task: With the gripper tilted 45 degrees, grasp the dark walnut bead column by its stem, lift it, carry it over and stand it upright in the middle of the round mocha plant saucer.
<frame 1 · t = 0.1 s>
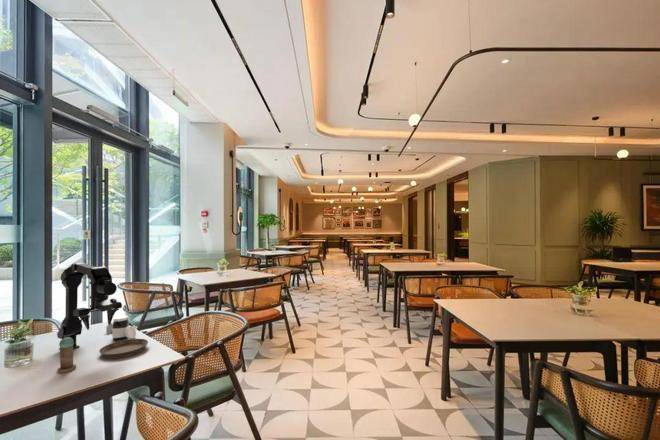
hand: (98, 326, 159), 15 cm above the table, tool pointing down, fingers open, 9 cm apart
spread jar: (124, 338, 187), on the table
plant saucer: (124, 352, 167), on the table
lighter: (113, 332, 200), on the table
bead column: (66, 370, 146), on the table
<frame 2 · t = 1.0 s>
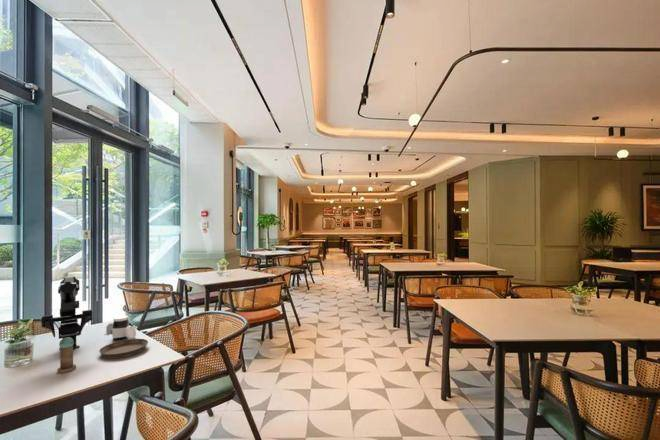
hand: (67, 334, 153), 13 cm above the table, tool tilted 45°, fingers open, 9 cm apart
nothing on the table moved.
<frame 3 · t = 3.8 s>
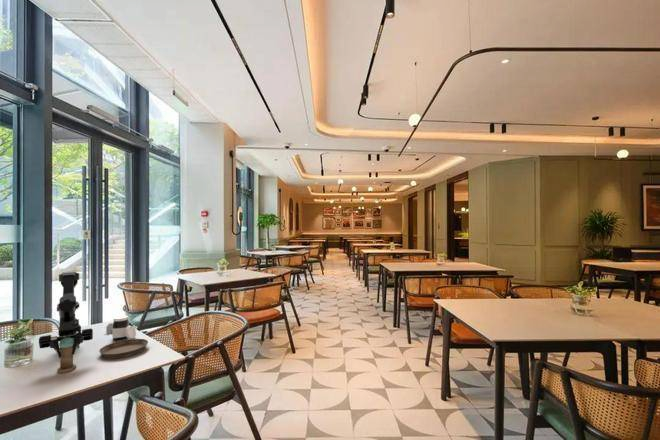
hand: (66, 355, 145), 7 cm above the table, tool tilted 45°, fingers closed on bead column, 4 cm apart
bead column: (66, 369, 146), on the table, touching gripper
everything else where it was.
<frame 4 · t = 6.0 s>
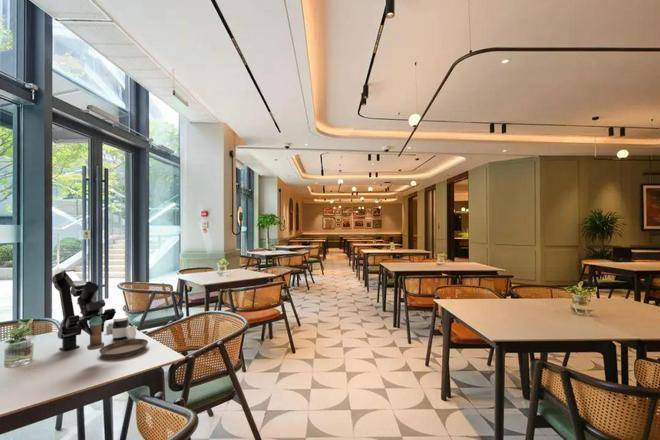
hand: (97, 333, 153), 13 cm above the table, tool tilted 45°, fingers closed on bead column, 4 cm apart
bead column: (95, 347, 154), point 7 cm above the table, touching gripper
everything else where it was.
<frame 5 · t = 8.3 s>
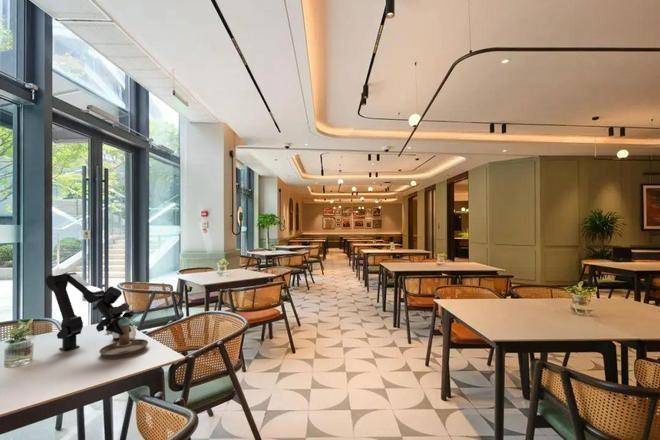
hand: (126, 333, 167), 9 cm above the table, tool tilted 45°, fingers closed on bead column, 4 cm apart
plant saucer: (124, 353, 167), on the table, touching bead column
bead column: (124, 345, 167), point 3 cm above the table, touching gripper, plant saucer
everything else where it was.
when the fingers open (9 cm above the table, at t = 8.4 s): bead column stays where it is, resting on plant saucer.
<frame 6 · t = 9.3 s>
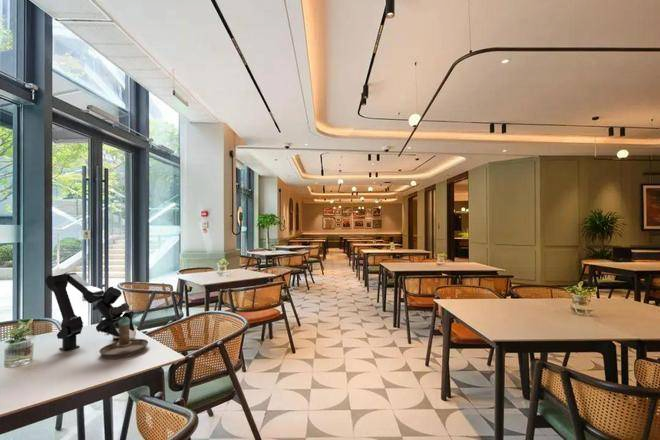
hand: (126, 333, 167), 9 cm above the table, tool tilted 45°, fingers open, 9 cm apart
bead column: (124, 345, 167), point 3 cm above the table, touching plant saucer
everything else where it was.
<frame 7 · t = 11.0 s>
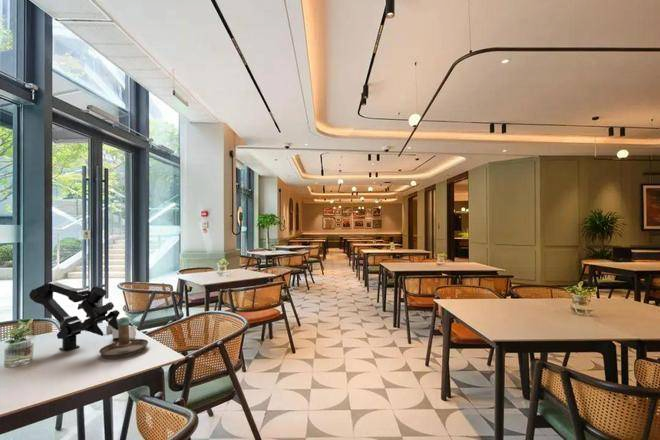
hand: (110, 332, 168), 9 cm above the table, tool tilted 45°, fingers open, 9 cm apart
nothing on the table moved.
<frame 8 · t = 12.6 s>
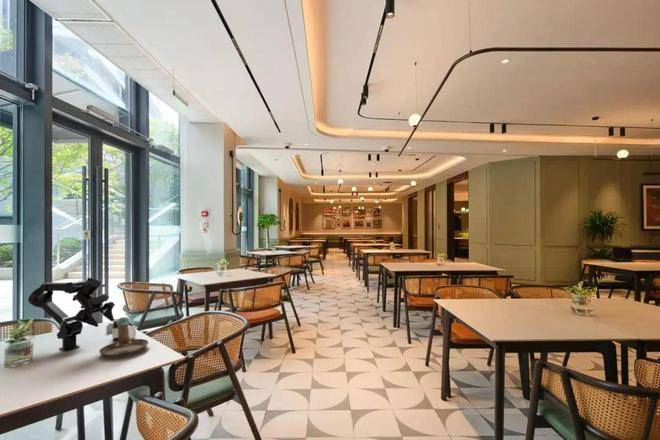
hand: (105, 323, 169), 14 cm above the table, tool tilted 45°, fingers open, 9 cm apart
nothing on the table moved.
at the end: bead column inside the target area in the plant saucer (0.1 cm from its centre), point 3.7 cm above the plant saucer's base; bead column tilted 3°; the gripper is holding nothing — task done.
